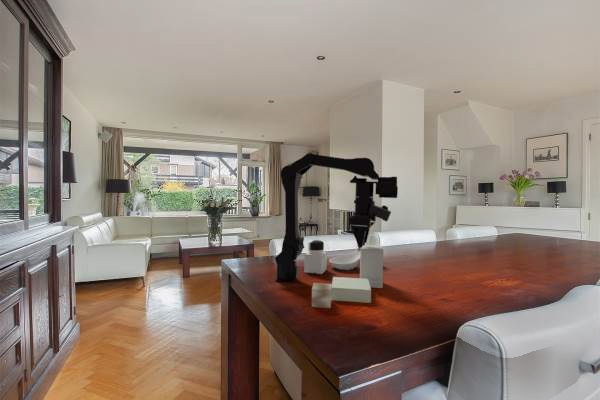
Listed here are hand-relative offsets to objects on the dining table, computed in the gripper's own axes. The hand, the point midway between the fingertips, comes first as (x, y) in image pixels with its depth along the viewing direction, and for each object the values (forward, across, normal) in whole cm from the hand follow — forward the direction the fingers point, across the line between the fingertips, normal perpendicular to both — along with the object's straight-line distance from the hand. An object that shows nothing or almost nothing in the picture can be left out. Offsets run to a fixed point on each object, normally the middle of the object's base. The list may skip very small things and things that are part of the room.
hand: (362, 244), depth 97 cm
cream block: (+14, -20, +8) cm, 25 cm away
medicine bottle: (+14, +13, +20) cm, 27 cm away
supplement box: (+14, +4, -3) cm, 15 cm away
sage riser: (+14, -9, +2) cm, 17 cm away
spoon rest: (+14, +26, +6) cm, 30 cm away
